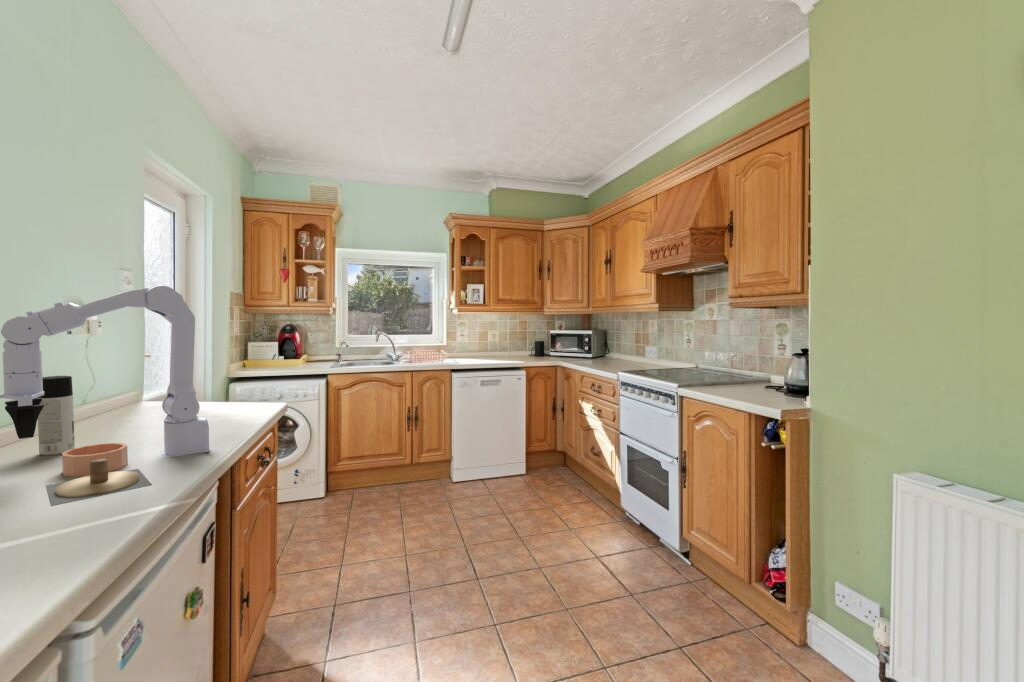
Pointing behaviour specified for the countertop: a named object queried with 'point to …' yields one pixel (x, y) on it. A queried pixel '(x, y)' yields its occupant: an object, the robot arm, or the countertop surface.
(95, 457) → the bowl
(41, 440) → the spray can
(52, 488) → the mat
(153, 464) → the countertop surface
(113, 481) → the lid
